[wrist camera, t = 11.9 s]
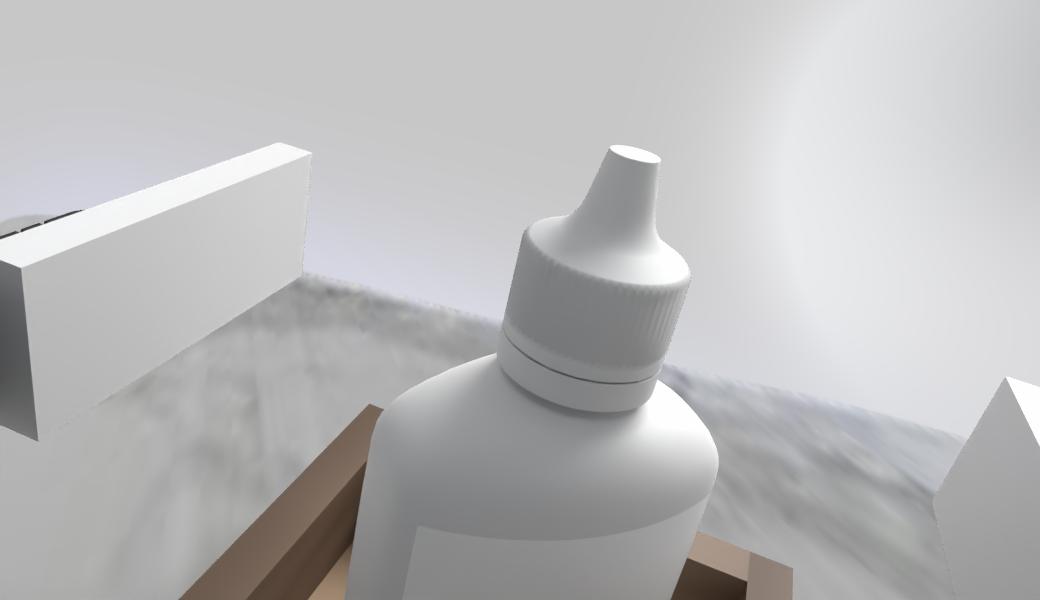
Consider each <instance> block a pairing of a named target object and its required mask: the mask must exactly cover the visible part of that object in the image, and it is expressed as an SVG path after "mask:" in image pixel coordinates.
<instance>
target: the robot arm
mask: <svg viewBox="0 0 1040 600" xmlns="http://www.w3.org/2000/svg"><path fill="white" fill-rule="evenodd" d="M312 154H313V153H311V152H308V151H305V150H302V149H299V148H296V147H293V146H289V145H287V144H284V143H280V142H278V143H275V144H273V145H270V146H267V147H264V148H261V149H258V150H255V151H252V152H249V153H247V154H244V155H241V156H238V157H235V158H233V159H229V160H227V161H224V162H221V163H218V164H215V165H212V166H209V167H207V168H204V169H201V170H198V171H195V172H192V173H190V174H186V175H184V176H181V177H178V178H175V179H172V180H170V181H166V182H164V183H161V184H158V185H155V186H152V187H149V188H146V189H144V190H141V191H138V192H135V193H132V194H129V195H126V196H124V197H121V198H118V199H115V200H112V201H109V202H106V203H103V204H101V205H98V206H95V207H92V208H89V209H86V210H80V211H73V212H70V213H67V214H64V215H61V216H58V217H55V218H52V219H49V220H47V221H44V224H40V223H38V224H35V225H32V226H29V227H26V228H23V229H21V232H20V233H19V232H16V231H15V232H12V233H9V234H6V235H3V236H0V425H2V426H4V427H6V428H9V429H11V430H13V431H15V432H18V433H20V434H22V435H24V436H27V437H29V438H31V439H33V440H36V441H38V442H39V441H40V440H42V439H43V438H45V437H47V436H48V435H50V434H51V433H53V432H55V431H56V430H58V429H59V428H61V427H62V426H64V425H66V424H67V423H69V422H70V421H72V420H74V419H75V418H77V417H78V416H80V415H81V414H83V413H85V412H86V411H88V410H89V409H91V408H93V407H94V406H96V405H97V404H99V403H101V402H102V401H104V400H105V399H107V398H108V397H110V396H112V395H113V394H115V393H116V392H118V391H120V390H121V389H123V388H124V387H126V386H127V385H129V384H131V383H132V382H134V381H135V380H137V379H139V378H140V377H142V376H143V375H145V374H146V373H148V372H150V371H151V370H153V369H154V368H156V367H158V366H159V365H161V364H162V363H164V362H165V361H167V360H169V359H170V358H172V357H173V356H175V355H177V354H178V353H180V352H181V351H183V350H184V349H186V348H188V347H189V346H191V345H192V344H194V343H196V342H197V341H199V340H200V339H202V338H203V337H205V336H207V335H208V334H210V333H211V332H213V331H215V330H216V329H218V328H219V327H221V326H222V325H224V324H226V323H227V322H229V321H230V320H232V319H234V318H235V317H237V316H238V315H240V314H241V313H243V312H245V311H246V310H248V309H249V308H251V307H253V306H254V305H256V304H257V303H259V302H260V301H262V300H264V299H265V298H267V297H268V296H270V295H272V294H273V293H275V292H276V291H278V290H279V289H281V288H283V287H284V286H286V285H287V284H289V283H291V282H292V281H294V280H295V279H297V278H298V277H300V276H302V271H303V259H304V248H305V236H306V224H307V212H308V200H309V189H310V177H311V165H312ZM932 504H933V508H934V512H935V516H936V521H937V525H938V529H939V533H940V537H941V541H942V546H943V550H944V554H945V558H946V562H947V567H948V571H949V575H950V579H951V583H952V587H953V592H954V596H955V600H1040V387H1037V386H1034V385H1031V384H1028V383H1025V382H1022V381H1019V380H1015V379H1012V378H1009V377H1005V378H1004V380H1003V382H1002V383H1001V385H1000V387H999V388H998V390H997V392H996V394H995V395H994V397H993V399H992V400H991V402H990V404H989V405H988V407H987V409H986V410H985V412H984V414H983V415H982V417H981V419H980V421H979V422H978V424H977V426H976V427H975V429H974V431H973V433H972V434H971V436H970V437H969V439H968V441H967V443H966V444H965V446H964V448H963V449H962V451H961V453H960V454H959V456H958V458H957V460H956V461H955V463H954V465H953V466H952V468H951V470H950V471H949V473H948V475H947V476H946V478H945V480H944V482H943V483H942V485H941V487H940V488H939V490H938V492H937V493H936V495H935V497H934V498H933V500H932Z"/></svg>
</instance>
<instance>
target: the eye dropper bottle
mask: <svg viewBox="0 0 1040 600" xmlns="http://www.w3.org/2000/svg"><path fill="white" fill-rule="evenodd" d="M660 162H661V159H660V158H659V157H658V156H656V155H654V154H652V153H650V152H647V151H645V150H641V149H638V148H634V147H629V146H622V145H613V146H610V148H609V150H608V152H607V154H606V156H605V158H604V160H603V162H602V164H601V167H600V168H599V171H598V173H597V175H596V177H595V179H594V181H593V183H592V185H591V188H590V190H589V192H588V194H587V196H586V198H585V199H584V201H583V203H582V205H581V206H580V207H579V208H578V209H577V210H576V211H575V212H573V213H572V214H570V215H565V216H558V217H551V218H545V219H542V220H539V221H537V222H535V223H534V224H532V225H531V226H529V227H528V228H527V229H526V230H525V231H524V233H523V236H522V241H521V245H520V249H519V253H518V258H517V263H516V267H515V271H514V275H513V280H512V285H511V288H510V293H509V297H508V302H507V306H506V310H505V315H504V319H503V323H502V328H501V332H500V337H499V341H498V345H497V353H495V354H492V355H489V356H485V357H482V358H479V359H476V360H473V361H470V362H468V363H465V364H462V365H460V366H457V367H454V368H452V369H449V370H447V371H445V372H443V373H441V374H439V375H436V376H434V377H432V378H429V379H427V380H425V381H424V382H422V383H420V384H418V385H416V386H415V387H413V388H411V389H409V390H407V391H405V392H404V393H403V394H401V395H400V396H399V397H397V398H396V399H395V400H394V401H393V402H392V403H391V404H389V405H388V406H387V407H386V408H385V409H384V410H383V411H382V413H381V415H380V416H379V418H378V419H377V422H376V425H375V428H374V432H373V435H372V439H371V444H370V449H369V455H368V460H367V465H366V471H365V476H364V481H363V487H362V492H361V498H360V505H359V511H358V517H357V523H356V529H355V535H354V541H353V548H352V554H351V560H350V566H349V572H348V578H347V584H346V591H345V597H344V600H671V597H672V594H673V592H674V589H675V587H676V584H677V582H678V579H679V577H680V574H681V572H682V569H683V567H684V564H685V562H686V559H687V556H688V554H689V551H690V549H691V546H692V544H693V541H694V538H695V536H696V533H697V530H698V528H699V525H700V522H701V519H702V517H703V514H704V511H705V508H706V506H707V503H708V500H709V498H710V495H711V492H712V489H713V486H714V483H715V479H716V475H717V470H718V466H719V461H718V453H717V449H716V446H715V444H714V441H713V439H712V437H711V435H710V433H709V431H708V429H707V428H706V427H705V425H704V424H703V423H702V421H701V420H700V419H699V418H698V416H697V415H696V414H695V413H694V411H693V410H692V409H691V408H690V407H689V406H688V405H687V404H686V403H685V402H684V401H683V400H682V399H681V398H680V397H679V396H678V395H677V394H676V393H675V392H674V391H672V390H671V389H670V388H669V387H667V386H666V385H665V384H663V383H661V382H660V381H658V377H659V374H660V371H661V368H662V365H663V362H664V359H665V356H666V353H667V350H668V347H669V344H670V341H671V338H672V335H673V332H674V329H675V326H676V324H677V321H678V318H679V314H680V311H681V309H682V306H683V303H684V300H685V297H686V294H687V291H688V288H689V285H690V282H691V272H690V270H689V268H688V266H687V264H686V262H685V261H684V259H683V258H682V257H681V256H680V255H679V254H678V253H677V252H676V251H675V250H673V249H672V248H671V247H669V246H668V245H667V244H665V243H664V242H663V241H661V239H660V238H659V236H658V234H657V231H656V228H655V212H656V201H657V192H658V182H659V172H660Z"/></svg>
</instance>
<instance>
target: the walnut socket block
mask: <svg viewBox="0 0 1040 600" xmlns="http://www.w3.org/2000/svg"><path fill="white" fill-rule="evenodd" d="M383 410H384V409H381V408H379V407H376V406H374V405H371V404H369V405H368V406H367V407H366V408H365V409H364V410H363V411H362V412H361V413H360V414H359V415H358V416H357V417H356V418H355V419H354V420H353V421H352V422H351V423H350V424H349V425H348V426H347V427H346V428H345V429H344V430H343V431H342V433H341V434H340V435H339V436H338V437H337V438H336V439H335V440H334V441H333V442H332V443H331V444H330V445H329V446H328V447H327V448H326V449H325V450H324V451H323V452H322V453H321V454H320V455H319V456H318V457H317V458H316V459H315V460H314V461H313V462H312V463H311V464H310V465H309V466H308V467H307V468H306V469H305V471H304V472H303V473H302V474H301V475H300V476H299V477H298V478H297V479H296V480H295V481H294V482H293V483H292V484H291V485H290V486H289V487H288V488H287V489H286V490H285V491H284V492H283V493H282V494H281V495H280V496H279V497H278V498H277V499H276V500H275V501H274V502H273V503H272V504H271V505H270V506H269V507H268V509H267V510H266V511H265V512H264V513H263V514H262V515H261V516H260V517H259V518H258V519H257V520H256V521H255V522H254V523H253V524H252V525H251V526H250V527H249V528H248V529H247V530H246V531H245V532H244V533H243V534H242V535H241V536H240V537H239V538H238V539H237V540H236V541H235V542H234V543H233V544H232V545H231V547H230V548H229V549H228V550H227V551H226V552H225V553H224V554H223V555H222V556H221V557H220V558H219V559H218V560H217V561H216V562H215V563H214V564H213V565H212V566H211V567H210V568H209V569H208V570H207V571H206V572H205V573H204V574H203V575H202V576H201V577H200V578H199V579H198V580H197V581H196V582H195V583H194V585H193V586H192V587H191V588H190V589H189V590H188V591H187V592H186V593H185V594H184V595H183V596H182V597H181V598H180V599H179V600H344V597H345V591H346V584H347V578H348V572H349V566H350V560H351V554H352V548H353V541H354V535H355V529H356V523H357V517H358V511H359V505H360V498H361V492H362V487H363V481H364V476H365V471H366V465H367V460H368V455H369V449H370V444H371V439H372V435H373V432H374V428H375V425H376V422H377V419H378V418H379V416H380V415H381V413H382V411H383ZM792 587H793V568H790V567H788V566H785V565H783V564H780V563H778V562H775V561H772V560H770V559H767V558H765V557H762V556H760V555H757V554H754V553H752V552H749V551H747V550H744V549H742V548H739V547H736V546H734V545H731V544H729V543H726V542H724V541H721V540H718V539H716V538H713V537H711V536H708V535H706V534H703V533H700V532H698V531H697V533H696V536H695V538H694V541H693V544H692V546H691V549H690V551H689V554H688V556H687V559H686V562H685V564H684V567H683V569H682V572H681V574H680V577H679V579H678V582H677V584H676V587H675V589H674V592H673V594H672V597H671V600H792Z"/></svg>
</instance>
